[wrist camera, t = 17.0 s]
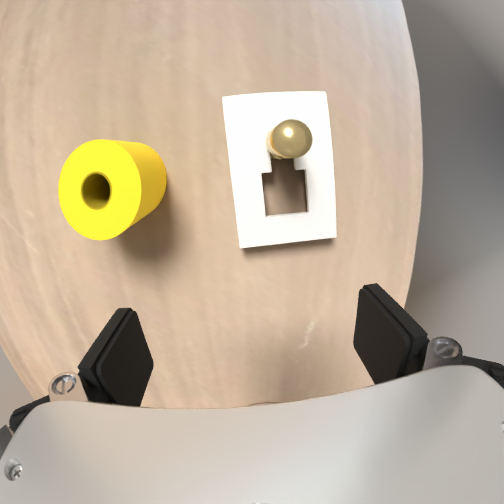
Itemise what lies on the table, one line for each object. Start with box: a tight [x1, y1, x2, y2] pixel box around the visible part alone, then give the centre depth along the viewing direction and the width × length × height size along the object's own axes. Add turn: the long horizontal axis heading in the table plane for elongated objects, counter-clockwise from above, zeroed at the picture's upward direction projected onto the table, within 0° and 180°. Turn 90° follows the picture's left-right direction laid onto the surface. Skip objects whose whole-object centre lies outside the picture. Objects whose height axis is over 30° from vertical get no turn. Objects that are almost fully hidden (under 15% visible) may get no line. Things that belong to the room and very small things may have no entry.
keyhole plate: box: [222, 91, 336, 248], centre depth 31 cm, size 18×12×2 cm, turn 6°
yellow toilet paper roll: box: [58, 140, 167, 240], centre depth 27 cm, size 10×10×9 cm
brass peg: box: [266, 119, 313, 159], centre depth 27 cm, size 4×4×9 cm
